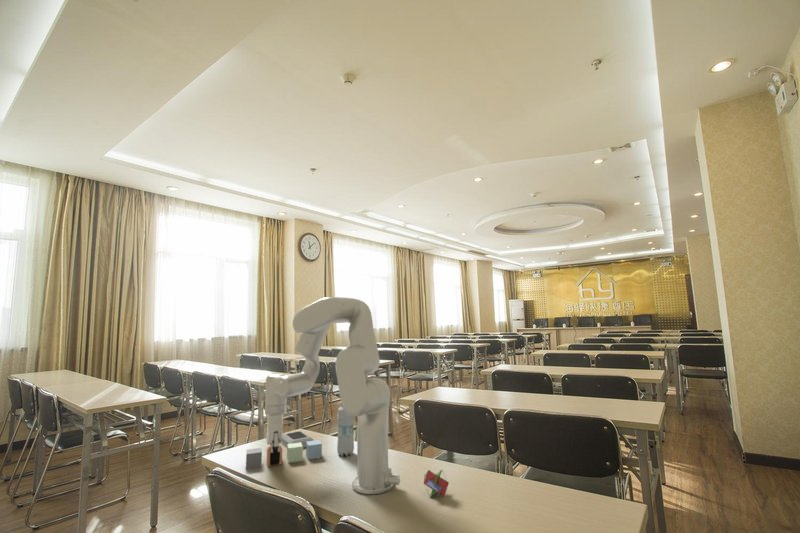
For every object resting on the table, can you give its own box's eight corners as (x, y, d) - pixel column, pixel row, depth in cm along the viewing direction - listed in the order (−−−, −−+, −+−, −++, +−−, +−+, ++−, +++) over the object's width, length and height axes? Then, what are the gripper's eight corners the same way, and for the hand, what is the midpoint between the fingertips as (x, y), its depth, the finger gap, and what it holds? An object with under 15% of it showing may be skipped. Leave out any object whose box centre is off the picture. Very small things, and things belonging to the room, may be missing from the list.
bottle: (335, 452, 142) (335, 398, 145) (352, 450, 144) (352, 396, 147) (337, 458, 136) (338, 401, 138) (356, 456, 138) (356, 400, 140)
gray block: (260, 462, 134) (261, 447, 134) (261, 467, 129) (261, 452, 130) (246, 464, 132) (246, 449, 132) (245, 469, 127) (246, 454, 128)
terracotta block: (280, 458, 136) (281, 444, 137) (282, 463, 132) (282, 448, 132) (266, 461, 134) (266, 446, 135) (267, 466, 130) (267, 451, 130)
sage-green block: (300, 456, 139) (301, 442, 140) (302, 460, 134) (302, 446, 135) (286, 458, 137) (287, 444, 138) (288, 463, 132) (288, 448, 133)
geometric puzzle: (457, 485, 107) (441, 459, 110) (449, 495, 101) (432, 467, 104) (439, 497, 109) (423, 472, 112) (430, 508, 103) (414, 480, 106)
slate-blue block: (319, 453, 141) (319, 439, 142) (321, 458, 137) (321, 443, 137) (306, 455, 140) (306, 441, 140) (307, 460, 135) (308, 445, 136)
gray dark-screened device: (301, 428, 163) (314, 437, 150) (301, 437, 162) (314, 446, 150) (279, 432, 157) (291, 442, 145) (279, 442, 157) (290, 452, 145)
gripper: (264, 405, 142) (262, 455, 139) (265, 415, 126) (263, 472, 124) (284, 403, 145) (283, 452, 142) (288, 412, 129) (287, 468, 127)
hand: (274, 460), depth 133 cm, fingers closed on terracotta block, 5 cm apart
